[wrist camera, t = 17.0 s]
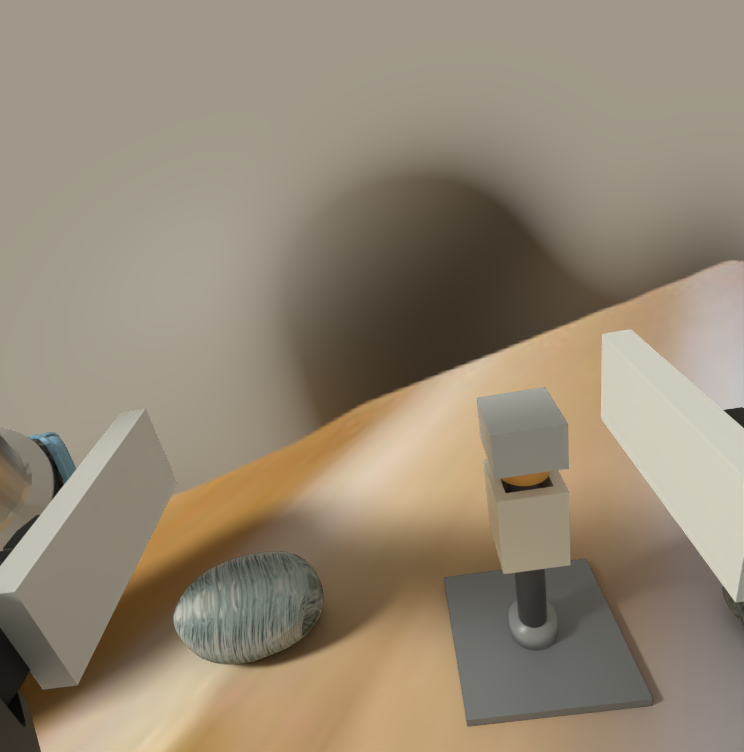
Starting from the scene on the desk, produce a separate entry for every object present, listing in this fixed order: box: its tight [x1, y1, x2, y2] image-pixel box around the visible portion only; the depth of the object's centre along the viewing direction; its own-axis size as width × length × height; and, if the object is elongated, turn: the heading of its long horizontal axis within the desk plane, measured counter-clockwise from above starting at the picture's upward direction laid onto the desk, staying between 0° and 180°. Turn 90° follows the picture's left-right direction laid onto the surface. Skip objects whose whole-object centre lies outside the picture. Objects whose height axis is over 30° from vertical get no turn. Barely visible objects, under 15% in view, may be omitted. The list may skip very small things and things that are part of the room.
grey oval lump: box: [173, 551, 324, 664], centre depth 52 cm, size 14×10×10 cm
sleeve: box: [483, 459, 570, 574], centre depth 42 cm, size 5×5×7 cm
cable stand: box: [444, 387, 653, 726], centre depth 43 cm, size 14×14×23 cm
